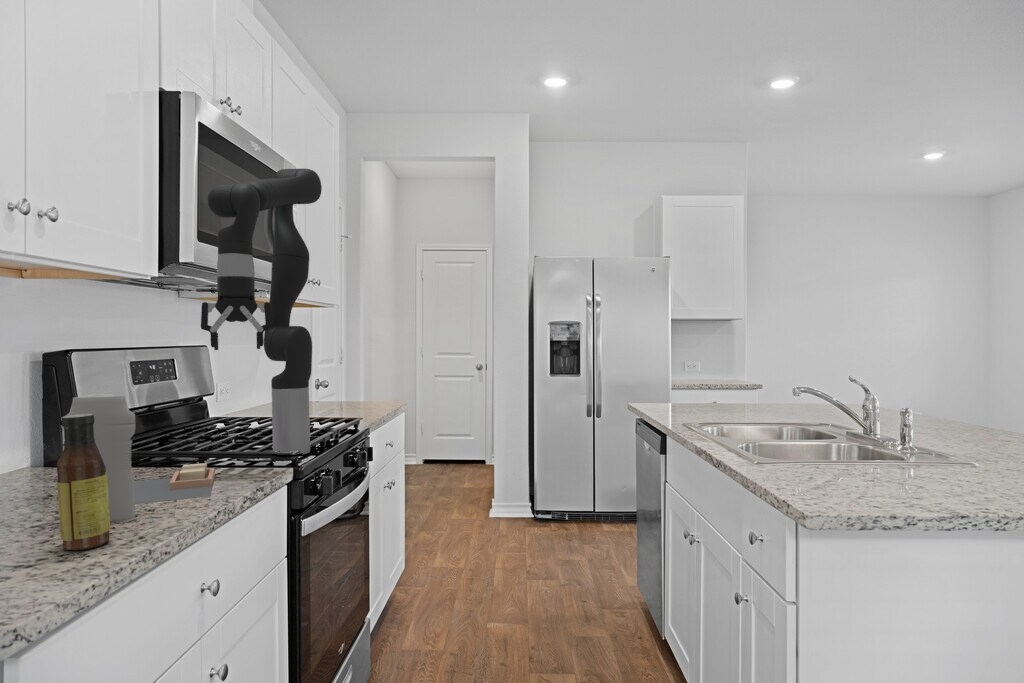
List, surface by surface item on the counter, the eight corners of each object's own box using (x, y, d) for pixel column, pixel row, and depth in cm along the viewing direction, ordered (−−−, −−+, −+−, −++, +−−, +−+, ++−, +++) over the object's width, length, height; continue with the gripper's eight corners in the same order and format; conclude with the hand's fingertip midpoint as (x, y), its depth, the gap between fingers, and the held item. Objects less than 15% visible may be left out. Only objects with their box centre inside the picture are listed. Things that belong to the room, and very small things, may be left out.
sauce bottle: (119, 537, 99) (116, 411, 98) (94, 552, 92) (90, 417, 92) (76, 538, 98) (73, 412, 98) (48, 553, 92) (44, 418, 92)
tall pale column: (61, 529, 103) (57, 395, 102) (71, 522, 107) (67, 393, 106) (134, 523, 106) (130, 393, 105) (141, 516, 110) (138, 390, 109)
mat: (132, 483, 133) (132, 481, 133) (215, 476, 139) (215, 474, 139) (113, 508, 115) (113, 505, 115) (210, 498, 121) (210, 496, 121)
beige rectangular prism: (204, 485, 129) (204, 470, 129) (179, 487, 128) (179, 472, 128) (206, 476, 137) (206, 463, 137) (183, 478, 135) (183, 465, 135)
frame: (175, 478, 136) (175, 471, 136) (214, 474, 139) (214, 467, 139) (169, 490, 126) (169, 482, 126) (211, 486, 129) (211, 478, 128)
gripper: (270, 277, 145) (271, 348, 145) (201, 276, 139) (202, 349, 139) (271, 275, 138) (272, 349, 138) (198, 273, 132) (200, 350, 133)
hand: (237, 349), depth 139 cm, fingers open, 8 cm apart
